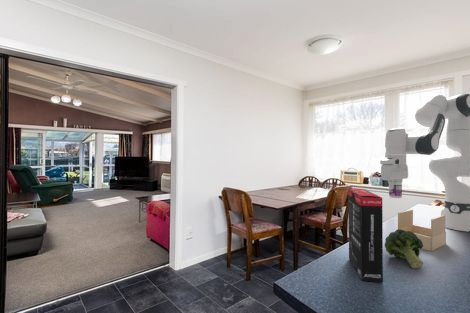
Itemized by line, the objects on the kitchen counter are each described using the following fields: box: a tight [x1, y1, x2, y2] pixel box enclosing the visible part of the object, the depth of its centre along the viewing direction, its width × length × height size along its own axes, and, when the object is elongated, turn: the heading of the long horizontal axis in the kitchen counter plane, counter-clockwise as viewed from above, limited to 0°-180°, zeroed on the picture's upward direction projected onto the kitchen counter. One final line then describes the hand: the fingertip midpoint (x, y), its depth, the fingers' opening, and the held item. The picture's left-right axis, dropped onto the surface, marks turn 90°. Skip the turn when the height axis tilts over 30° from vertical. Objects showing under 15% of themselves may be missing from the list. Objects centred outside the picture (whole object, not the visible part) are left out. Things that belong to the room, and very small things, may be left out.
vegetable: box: [384, 228, 424, 270], centre depth 91 cm, size 12×13×15 cm
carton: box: [396, 209, 447, 252], centre depth 110 cm, size 15×13×13 cm
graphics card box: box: [347, 188, 384, 283], centre depth 84 cm, size 17×7×27 cm, turn 168°
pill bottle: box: [388, 178, 403, 199], centre depth 121 cm, size 5×5×10 cm
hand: (395, 188), depth 121 cm, fingers closed on pill bottle, 5 cm apart
